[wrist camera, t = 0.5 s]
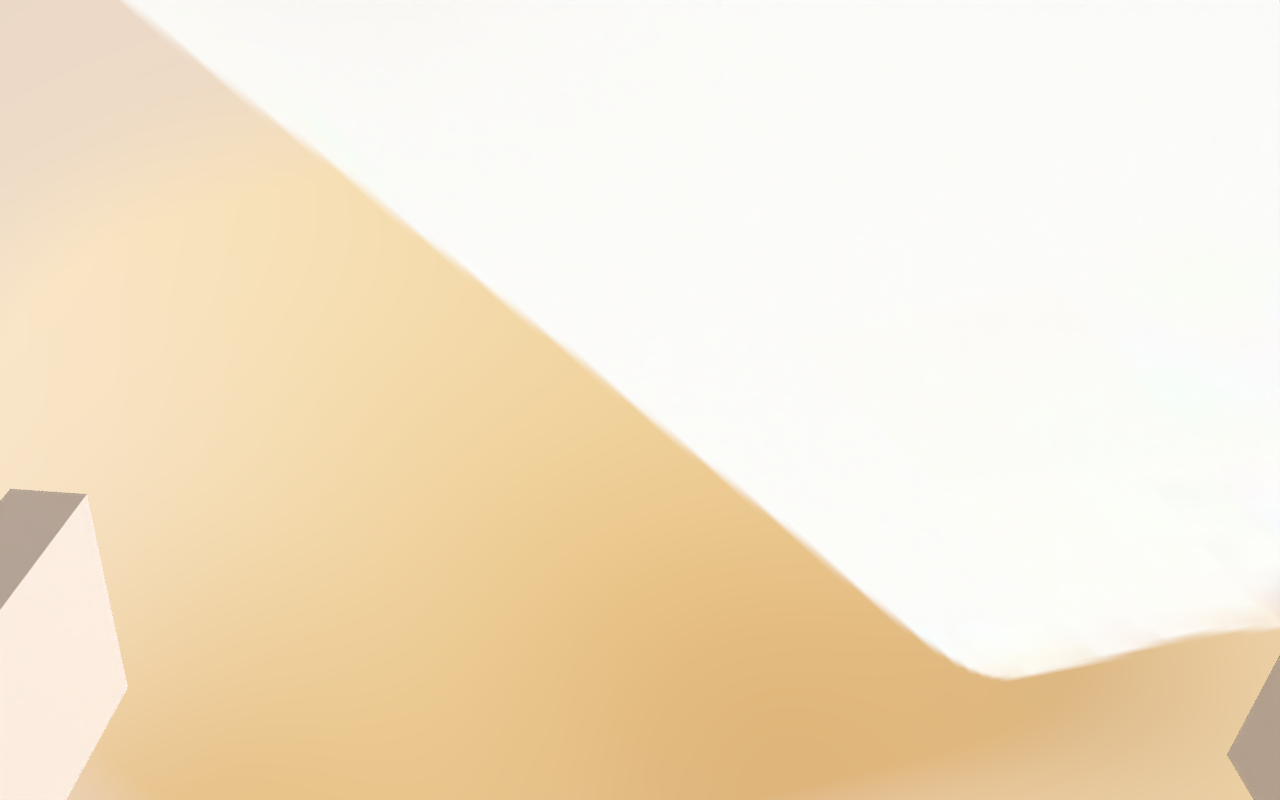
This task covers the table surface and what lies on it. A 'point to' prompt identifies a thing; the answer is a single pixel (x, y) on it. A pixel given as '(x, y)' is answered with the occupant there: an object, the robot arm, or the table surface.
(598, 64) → the table surface
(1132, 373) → the table surface
